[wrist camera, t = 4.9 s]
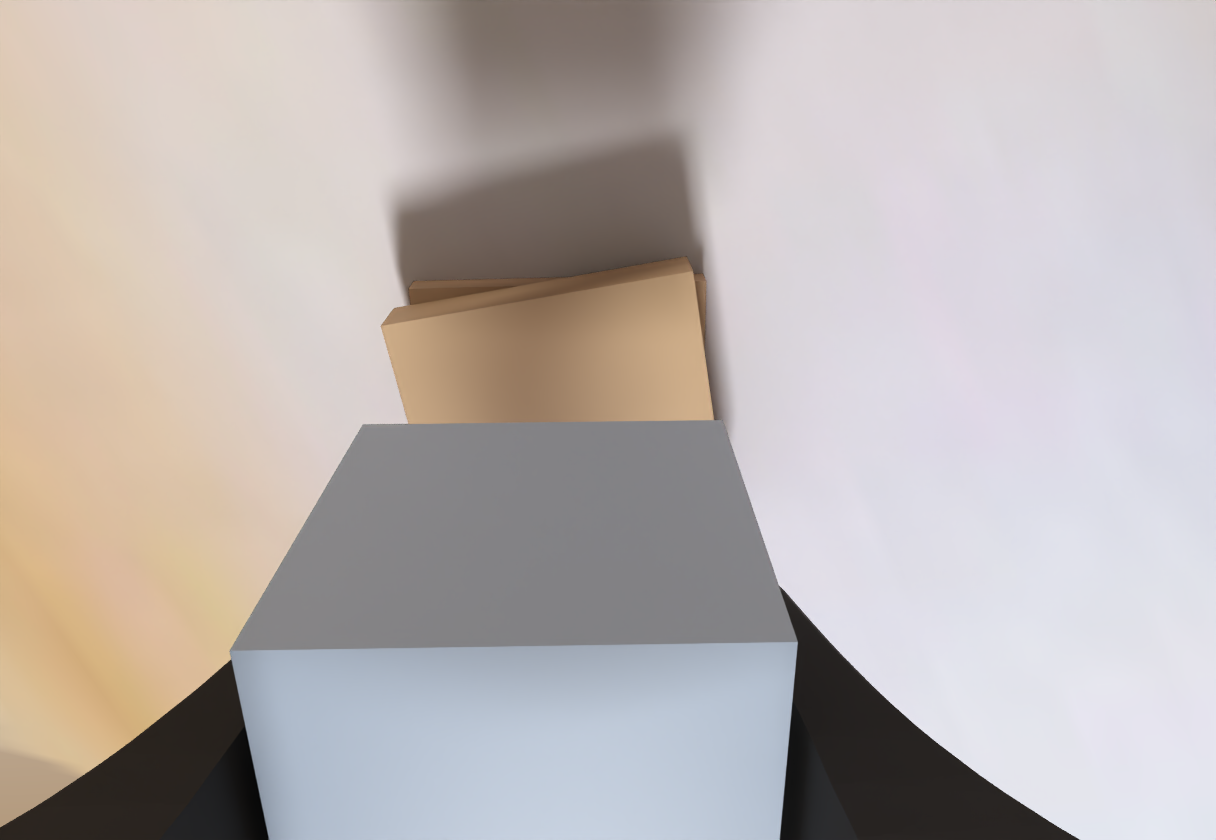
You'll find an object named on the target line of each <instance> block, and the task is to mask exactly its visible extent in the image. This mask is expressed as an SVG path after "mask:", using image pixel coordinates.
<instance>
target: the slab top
mask: <svg viewBox="0 0 1216 840" xmlns="http://www.w3.org/2000/svg"><path fill="white" fill-rule="evenodd" d="M381 329H382V332H383V336H384V339H385V343H386V346H387V350H388V353H389V357H390V360H391V364H392V367H393V371H394V374H395V378H396V381H397V385H398V388H399V392H400V395H401V399H402V402H403V406H404V410H405V413H406V417H407V420H408V424H446V423H526V422H606V421H686V420H714V417H713V410H712V402H711V395H710V388H709V381H708V374H707V367H706V360H705V353H704V345H703V338H702V331H701V324H700V317H699V310H698V303H697V296H696V288H695V281H694V274H693V270H692V268H691V265H690V263H689V261H688V258H687V256H686V257H680V258H674V259H669V260H663V261H657V262H652V263H646V264H640V265H635V266H629V267H623V268H618V269H612V270H606V271H601V272H595V273H590V274H584V275H578V276H573V277H567V278H561V279H556V280H550V281H544V282H539V283H533V284H527V285H522V286H516V287H510V288H505V289H499V290H493V291H488V292H482V293H476V294H471V295H465V296H459V297H454V298H448V299H442V300H437V301H431V302H426V303H420V304H414V305H408V306H403V307H397V308H394V309H393V310H392V311H391V313H390V314H389V316H388V317H387V318H386V320H385V321H384V322H383V324H382V325H381Z"/></svg>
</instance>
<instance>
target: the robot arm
mask: <svg viewBox="0 0 1216 840" xmlns="http://www.w3.org/2000/svg"><path fill="white" fill-rule="evenodd" d="M779 588H780V591H781V594H782V597H783V600H784V603H785V606H786V609H787V612H788V614H789V617H790V620H791V623H792V626H793V629H794V632H795V635H796V638H797V641H798V645H797V656H796V667H795V678H794V689H793V700H792V711H791V721H790V732H789V743H788V754H787V765H786V776H785V787H784V797H783V808H782V819H781V830H780V840H1079V839H1078V838H1076V837H1074V836H1072V835H1071V834H1069V833H1067V832H1066V831H1064V830H1062V829H1061V828H1059V827H1057V826H1056V825H1054V824H1052V823H1051V822H1049V821H1048V820H1046V819H1045V818H1043V817H1042V816H1040V815H1038V814H1037V813H1035V812H1034V811H1032V810H1031V809H1029V808H1028V807H1026V806H1024V805H1023V804H1021V803H1020V802H1018V801H1017V800H1015V799H1014V798H1012V797H1011V796H1009V795H1007V794H1006V793H1004V792H1003V791H1002V790H1000V789H999V788H997V787H996V786H994V785H993V784H991V783H990V782H989V781H987V780H986V779H984V778H983V777H981V776H980V775H979V774H977V773H976V772H975V771H973V770H972V769H971V768H969V767H968V766H967V765H965V764H964V763H963V762H961V761H960V760H959V759H957V758H956V757H955V756H954V755H952V754H951V753H950V752H948V751H947V750H946V749H944V748H943V747H942V746H940V745H939V744H938V743H936V742H935V741H934V740H933V739H931V738H930V737H929V736H928V735H927V734H925V733H924V732H923V731H922V730H920V729H919V728H918V727H917V726H916V725H915V724H913V723H912V722H911V721H910V720H909V719H908V718H907V717H906V716H904V715H903V714H902V713H901V712H900V711H899V710H898V709H897V708H895V707H894V706H893V705H892V704H891V703H890V702H889V701H888V700H887V699H886V698H885V697H884V696H883V695H881V694H880V693H879V692H878V691H877V690H876V689H875V688H874V687H873V686H872V685H871V684H870V683H869V682H868V681H867V680H866V679H865V678H864V677H863V676H862V675H861V674H860V673H859V672H858V671H857V670H856V669H855V668H854V667H853V666H852V665H851V664H850V663H849V662H848V661H847V660H846V659H845V658H844V657H843V656H842V655H841V654H840V652H839V651H838V650H837V649H836V648H835V647H834V646H833V645H832V644H831V643H830V642H829V641H828V640H827V639H826V637H825V636H824V635H823V634H822V633H821V632H820V631H819V630H818V629H817V627H816V626H815V625H814V624H813V623H812V622H811V621H810V620H809V618H808V617H807V616H806V615H805V614H804V613H803V612H802V610H801V609H800V608H799V607H798V606H797V605H796V604H795V602H794V601H793V600H792V599H791V598H790V597H789V595H788V594H787V593H786V592H785V591H784V590H783V589H782V588H781V587H780V586H779ZM0 840H269V836H268V832H267V827H266V822H265V817H264V813H263V808H262V803H261V798H260V793H259V789H258V784H257V779H256V774H255V770H254V765H253V760H252V755H251V750H250V746H249V741H248V736H247V731H246V727H245V722H244V717H243V712H242V707H241V703H240V698H239V693H238V688H237V684H236V679H235V674H234V669H233V664H232V660H230V661H229V662H228V663H227V664H225V665H224V666H223V667H222V668H221V669H220V670H219V671H217V672H216V673H215V674H214V675H213V676H212V677H210V678H209V679H208V680H207V681H206V682H205V683H204V684H202V685H201V686H200V687H199V688H198V689H196V690H195V691H194V692H193V693H192V694H190V695H189V696H188V697H187V698H185V699H184V700H183V701H181V702H180V703H179V704H178V705H176V706H175V707H174V708H173V709H171V710H170V711H169V712H168V713H166V714H165V715H164V716H163V717H161V718H160V719H159V720H157V721H156V722H155V723H154V724H152V725H151V726H150V727H149V728H147V729H146V730H145V731H144V732H142V733H141V734H140V735H139V736H137V737H136V738H135V739H134V740H132V741H131V742H130V743H128V744H127V745H125V746H124V747H123V748H121V749H120V750H119V751H117V752H116V753H115V754H113V755H112V756H110V757H109V758H108V759H106V760H105V761H103V762H102V763H101V764H99V765H98V766H96V767H95V768H93V769H92V770H90V771H89V772H87V773H86V774H85V775H83V776H82V777H80V778H79V779H77V780H76V781H74V782H73V783H71V784H70V785H68V786H67V787H65V788H64V789H62V790H61V791H59V792H58V793H56V794H55V795H53V796H52V797H50V798H49V799H47V800H45V801H44V802H42V803H41V804H39V805H37V806H36V807H34V808H33V809H31V810H30V811H27V812H26V813H24V814H22V815H21V816H19V817H17V818H16V819H14V820H13V821H10V822H9V823H7V824H6V825H4V826H2V827H0Z"/></svg>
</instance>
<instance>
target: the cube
mask: <svg viewBox="0 0 1216 840" xmlns="http://www.w3.org/2000/svg"><path fill="white" fill-rule="evenodd" d="M797 645H798V641H797V638H796V635H795V632H794V629H793V626H792V623H791V620H790V617H789V614H788V612H787V609H786V606H785V603H784V600H783V597H782V594H781V591H780V588H779V585H778V582H777V579H776V576H775V573H774V570H773V567H772V564H771V561H770V558H769V555H768V552H767V549H766V546H765V544H764V541H763V538H762V535H761V532H760V529H759V526H758V523H757V520H756V517H755V514H754V511H753V508H752V505H751V502H750V499H749V496H748V493H747V490H746V487H745V484H744V481H743V479H742V476H741V473H740V470H739V467H738V464H737V461H736V458H735V455H734V452H733V449H732V446H731V443H730V440H729V437H728V434H727V431H726V428H725V425H724V422H723V420H686V421H606V422H526V423H446V424H367V425H362V427H361V429H360V430H359V432H358V434H357V435H356V437H355V439H354V441H353V442H352V444H351V446H350V447H349V449H348V451H347V452H346V454H345V456H344V457H343V459H342V461H341V463H340V464H339V466H338V468H337V469H336V471H335V473H334V474H333V476H332V478H331V480H330V481H329V483H328V485H327V486H326V488H325V490H324V491H323V493H322V495H321V497H320V498H319V500H318V502H317V503H316V505H315V507H314V508H313V510H312V512H311V514H310V515H309V517H308V519H307V520H306V522H305V524H304V525H303V527H302V529H301V530H300V532H299V534H298V536H297V537H296V539H295V541H294V542H293V544H292V546H291V547H290V549H289V551H288V553H287V554H286V556H285V558H284V559H283V561H282V563H281V564H280V566H279V568H278V570H277V571H276V573H275V575H274V576H273V578H272V580H271V581H270V583H269V585H268V587H267V588H266V590H265V592H264V593H263V595H262V597H261V598H260V600H259V602H258V604H257V605H256V607H255V609H254V610H253V612H252V614H251V615H250V617H249V619H248V620H247V622H246V624H245V626H244V627H243V629H242V631H241V632H240V634H239V636H238V637H237V639H236V641H235V643H234V644H233V646H232V648H231V649H230V655H231V660H232V664H233V669H234V674H235V679H236V684H237V688H238V693H239V698H240V703H241V707H242V712H243V717H244V722H245V727H246V731H247V736H248V741H249V746H250V750H251V755H252V760H253V765H254V770H255V774H256V779H257V784H258V789H259V793H260V798H261V803H262V808H263V813H264V817H265V822H266V827H267V832H268V836H269V840H780V830H781V819H782V808H783V797H784V787H785V776H786V765H787V754H788V743H789V732H790V721H791V711H792V700H793V689H794V678H795V667H796V656H797Z"/></svg>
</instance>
